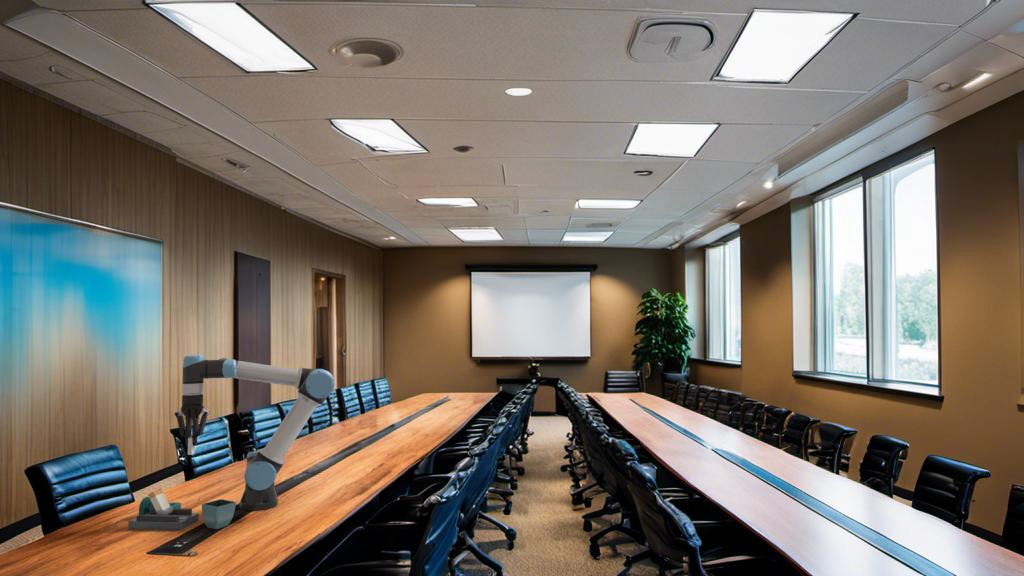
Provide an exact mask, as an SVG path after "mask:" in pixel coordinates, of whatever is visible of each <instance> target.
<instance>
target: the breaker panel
mask: <svg viewBox="0 0 1024 576" xmlns="http://www.w3.org/2000/svg"><path fill="white" fill-rule="evenodd" d="M143 515H156V514H151V512H148V513H145V514H143ZM169 515H174V514H169ZM199 517H200V513H198V512H192V514H190V515H179V520H178V521H177V522H172V521H136V519H137V517H135V518H132V519H130V520H128V523H127V529H128V530H135V529H136V531H138V530H140V531H143V530H144V531H183V530H185V529H187V528H188V527H190V525H191V526H193V525H194V524H196V523H198V522H199V521H200V520H199Z"/></svg>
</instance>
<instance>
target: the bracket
mask: <svg viewBox="0 0 1024 576" xmlns="http://www.w3.org/2000/svg"><path fill="white" fill-rule="evenodd" d="M168 503H169V505H170V506H171V507H173V508H178V509H182V503H181V502H177V501H176V502H168ZM153 508H154V506H153V504H152V502H151V500H150V498H149V496H145V497H143V498H142V499H141V501H140V503H139V507H138V515H143V514H145V513H148V512H151V509H153Z"/></svg>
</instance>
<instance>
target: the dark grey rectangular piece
mask: <svg viewBox="0 0 1024 576" xmlns="http://www.w3.org/2000/svg"><path fill="white" fill-rule="evenodd" d="M192 513H193V509H192V508H181V509H178V508H173V512H172V513H171V514H174V515H139V514H138V515H136V518H137V519H136V521H172V522H177V521H178V520H179V515H190V514H192ZM151 514H157V512H156V510H155V508H153V509H151Z"/></svg>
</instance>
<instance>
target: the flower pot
mask: <svg viewBox="0 0 1024 576" xmlns="http://www.w3.org/2000/svg"><path fill="white" fill-rule="evenodd" d="M236 504H237V501H234V500H227V499H222V498H220V499H215V500H213V501H209V502H204V503H202V504H201V512H202V513H201V514H202V520H203V522H204V524H205V526H206V527H207V528H210V529H212V530H213V529H214V530H219V529H221V528H225V527H227V526H229V524H230V523H231V522H232V519H233V518H234V514H235V510H236Z"/></svg>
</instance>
